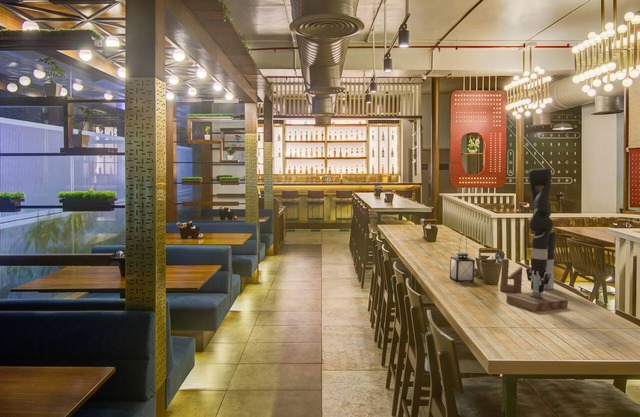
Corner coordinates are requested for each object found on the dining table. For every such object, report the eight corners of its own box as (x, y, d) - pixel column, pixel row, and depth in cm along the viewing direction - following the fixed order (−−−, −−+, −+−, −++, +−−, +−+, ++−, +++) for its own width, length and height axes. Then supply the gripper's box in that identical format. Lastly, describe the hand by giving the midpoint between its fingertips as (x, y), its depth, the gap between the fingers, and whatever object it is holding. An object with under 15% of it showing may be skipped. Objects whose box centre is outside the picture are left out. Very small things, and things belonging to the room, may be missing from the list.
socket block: (538, 298, 264) (539, 291, 263) (567, 307, 247) (568, 299, 247) (506, 302, 255) (506, 294, 255) (534, 312, 239) (534, 303, 238)
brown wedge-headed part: (521, 292, 277) (522, 260, 275) (500, 291, 279) (502, 259, 277) (519, 291, 280) (521, 259, 279) (499, 289, 282) (501, 258, 281)
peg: (536, 297, 254) (537, 273, 253) (543, 299, 250) (544, 275, 249) (530, 297, 252) (531, 274, 251) (536, 299, 248) (538, 276, 247)
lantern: (466, 277, 313) (468, 233, 311) (474, 281, 302) (476, 235, 300) (449, 277, 312) (451, 233, 310) (456, 281, 301) (458, 235, 299)
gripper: (556, 259, 244) (554, 294, 246) (533, 254, 257) (531, 287, 259) (545, 260, 241) (542, 295, 243) (522, 255, 254) (520, 288, 256)
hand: (537, 291), depth 251 cm, fingers closed on peg, 4 cm apart
